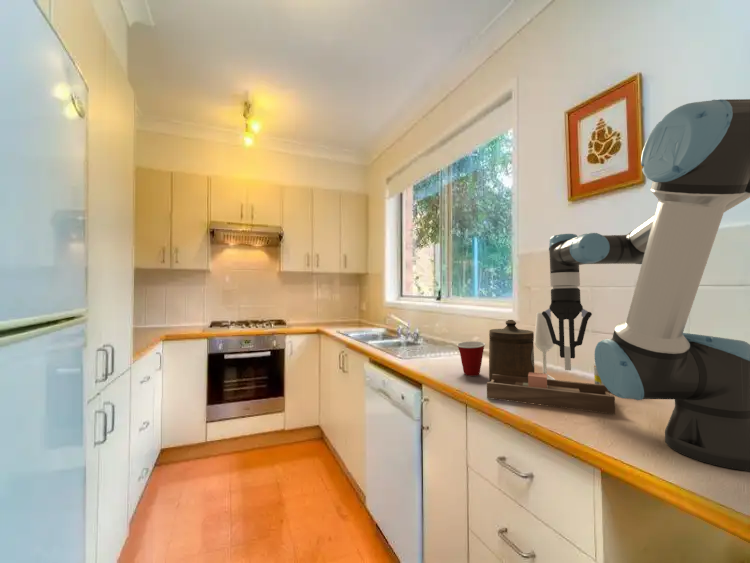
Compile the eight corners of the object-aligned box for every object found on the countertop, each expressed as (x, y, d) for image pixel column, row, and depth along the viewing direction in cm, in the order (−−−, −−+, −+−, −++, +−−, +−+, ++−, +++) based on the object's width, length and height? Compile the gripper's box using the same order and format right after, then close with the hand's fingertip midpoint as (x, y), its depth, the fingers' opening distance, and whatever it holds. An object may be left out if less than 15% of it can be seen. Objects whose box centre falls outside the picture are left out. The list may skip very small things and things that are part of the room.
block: (547, 391, 99) (546, 377, 99) (528, 389, 102) (528, 375, 102) (547, 387, 104) (546, 373, 104) (529, 385, 106) (528, 372, 106)
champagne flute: (550, 376, 128) (549, 312, 129) (558, 381, 122) (557, 313, 122) (532, 376, 129) (530, 312, 130) (538, 380, 122) (537, 313, 123)
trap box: (615, 414, 89) (614, 396, 89) (486, 397, 103) (486, 382, 103) (607, 400, 100) (607, 385, 100) (492, 387, 114) (492, 373, 114)
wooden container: (544, 386, 115) (543, 320, 116) (507, 390, 111) (505, 322, 112) (515, 375, 130) (514, 317, 130) (480, 379, 125) (479, 318, 126)
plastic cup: (451, 372, 135) (450, 342, 135) (472, 369, 140) (472, 340, 140) (469, 379, 125) (469, 346, 126) (492, 375, 130) (491, 343, 130)
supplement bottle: (617, 389, 111) (616, 357, 111) (611, 392, 108) (611, 360, 108) (598, 385, 115) (597, 355, 116) (591, 389, 112) (591, 357, 112)
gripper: (589, 287, 101) (592, 369, 99) (540, 288, 106) (542, 365, 105) (592, 286, 94) (596, 374, 93) (540, 287, 100) (542, 369, 98)
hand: (567, 369), depth 99 cm, fingers closed
